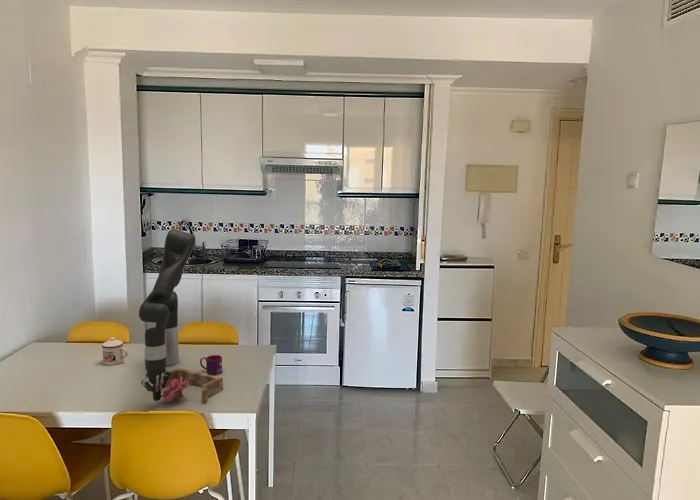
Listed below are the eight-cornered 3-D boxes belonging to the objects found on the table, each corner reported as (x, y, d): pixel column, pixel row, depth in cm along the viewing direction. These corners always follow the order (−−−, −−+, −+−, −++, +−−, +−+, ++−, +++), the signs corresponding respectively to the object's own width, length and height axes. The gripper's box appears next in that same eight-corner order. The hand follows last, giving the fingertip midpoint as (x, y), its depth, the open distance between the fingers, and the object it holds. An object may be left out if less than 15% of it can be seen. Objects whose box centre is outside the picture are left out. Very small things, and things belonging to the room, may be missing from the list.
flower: (159, 411, 202) (153, 386, 205) (183, 406, 209) (177, 381, 212) (171, 402, 195) (165, 376, 198) (196, 397, 202) (189, 372, 205)
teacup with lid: (98, 364, 241) (96, 340, 239) (111, 358, 250) (110, 334, 248) (121, 367, 238) (120, 342, 236) (134, 360, 247) (132, 336, 245)
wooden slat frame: (147, 389, 214) (147, 377, 213) (173, 377, 227) (172, 366, 226) (204, 404, 202) (204, 391, 201) (228, 390, 214) (228, 378, 213)
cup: (216, 376, 229) (216, 361, 228) (197, 372, 233) (196, 358, 232) (225, 370, 236) (224, 356, 235) (206, 367, 239) (205, 353, 238)
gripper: (161, 349, 205) (162, 392, 207) (134, 359, 193) (135, 404, 195) (176, 352, 201) (177, 396, 204) (149, 362, 189) (150, 409, 192)
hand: (157, 400), depth 199 cm, fingers closed
